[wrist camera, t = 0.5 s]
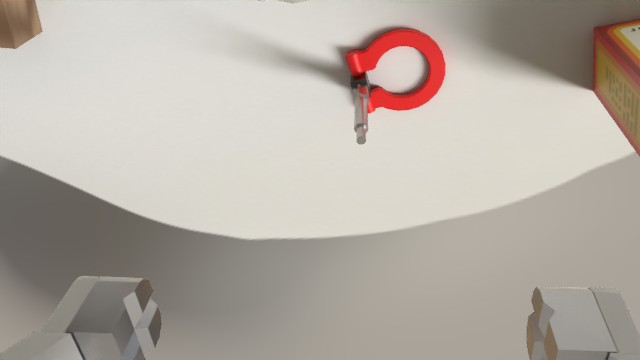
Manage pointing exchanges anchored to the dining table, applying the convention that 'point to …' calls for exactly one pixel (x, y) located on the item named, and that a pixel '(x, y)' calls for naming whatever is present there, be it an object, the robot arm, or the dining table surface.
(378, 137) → the dining table surface
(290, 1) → the french press
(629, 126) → the baking soda box
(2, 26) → the hole block
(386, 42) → the tow hook
